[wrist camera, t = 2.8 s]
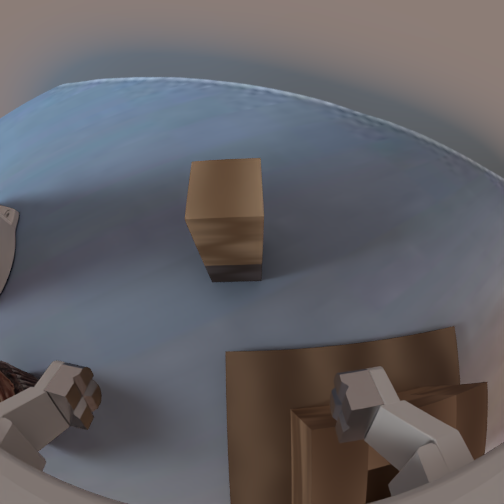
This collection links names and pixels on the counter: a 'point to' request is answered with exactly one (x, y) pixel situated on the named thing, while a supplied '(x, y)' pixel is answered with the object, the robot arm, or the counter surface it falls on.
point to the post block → (323, 424)
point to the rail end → (227, 217)
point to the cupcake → (14, 381)
